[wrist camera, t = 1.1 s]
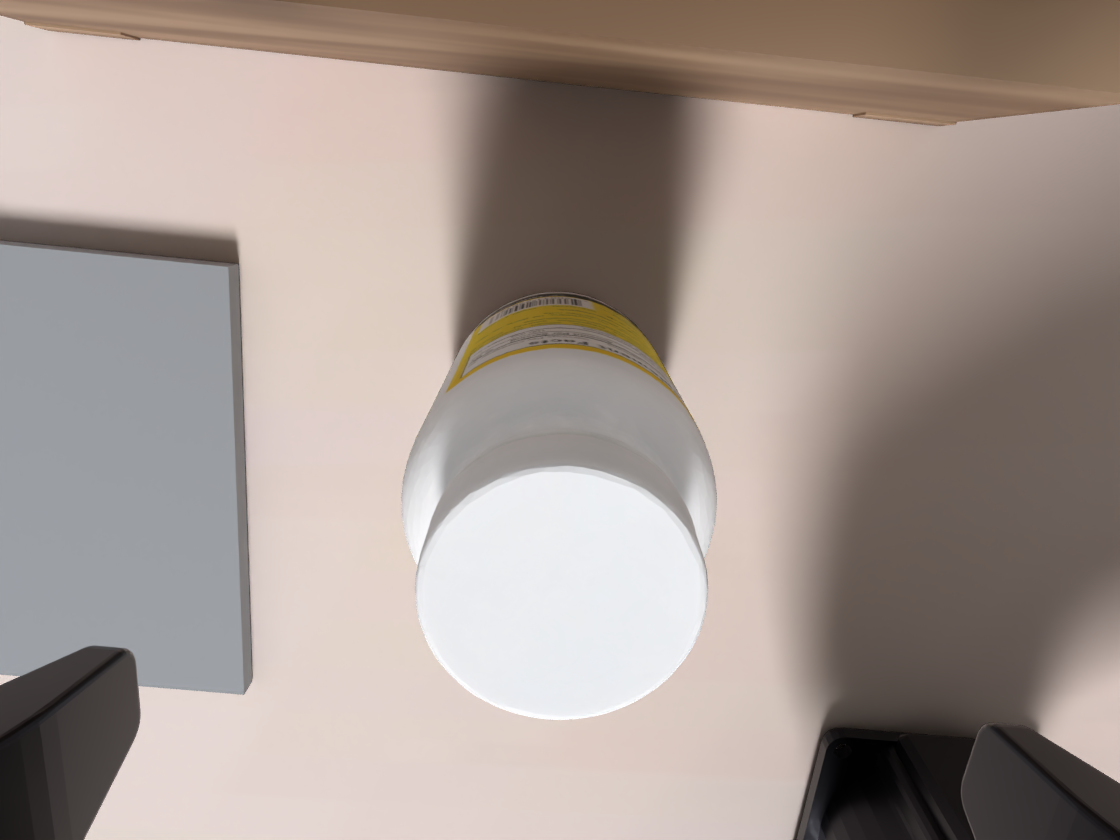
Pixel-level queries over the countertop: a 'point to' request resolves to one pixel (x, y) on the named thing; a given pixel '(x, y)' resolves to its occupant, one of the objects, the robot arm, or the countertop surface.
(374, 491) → the countertop surface
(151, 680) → the mat
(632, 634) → the supplement bottle
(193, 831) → the countertop surface
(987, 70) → the screen
